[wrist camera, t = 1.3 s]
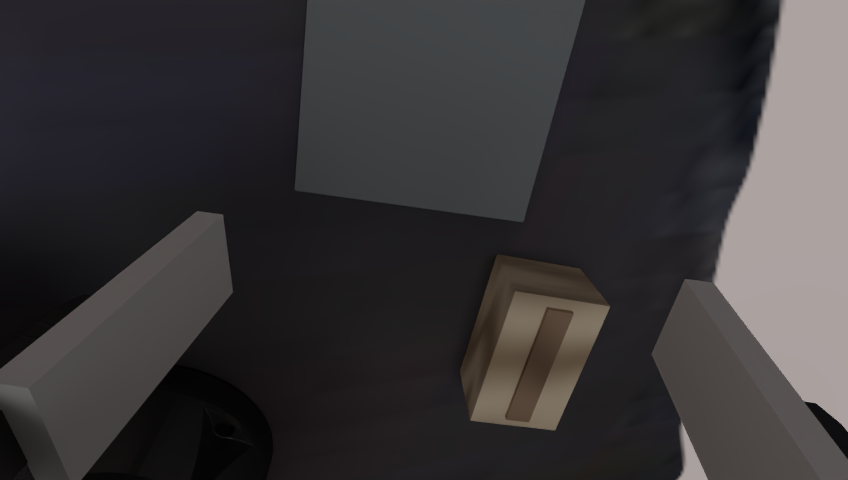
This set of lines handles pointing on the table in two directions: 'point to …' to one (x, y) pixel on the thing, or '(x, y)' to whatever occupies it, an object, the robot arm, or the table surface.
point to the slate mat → (431, 100)
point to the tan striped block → (530, 342)
